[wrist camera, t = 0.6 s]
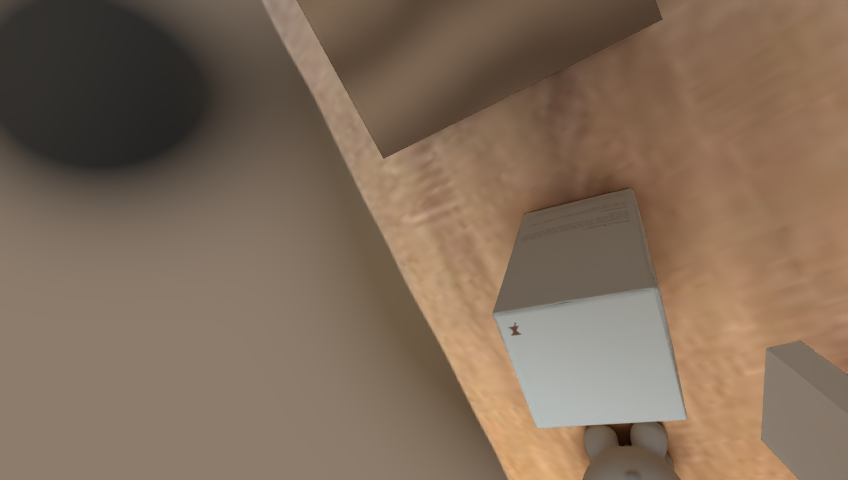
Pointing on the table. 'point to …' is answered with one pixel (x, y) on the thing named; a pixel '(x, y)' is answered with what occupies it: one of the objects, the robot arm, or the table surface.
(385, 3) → the walnut stand
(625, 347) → the supplement box
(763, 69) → the table surface
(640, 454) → the round bodied animal figurine
